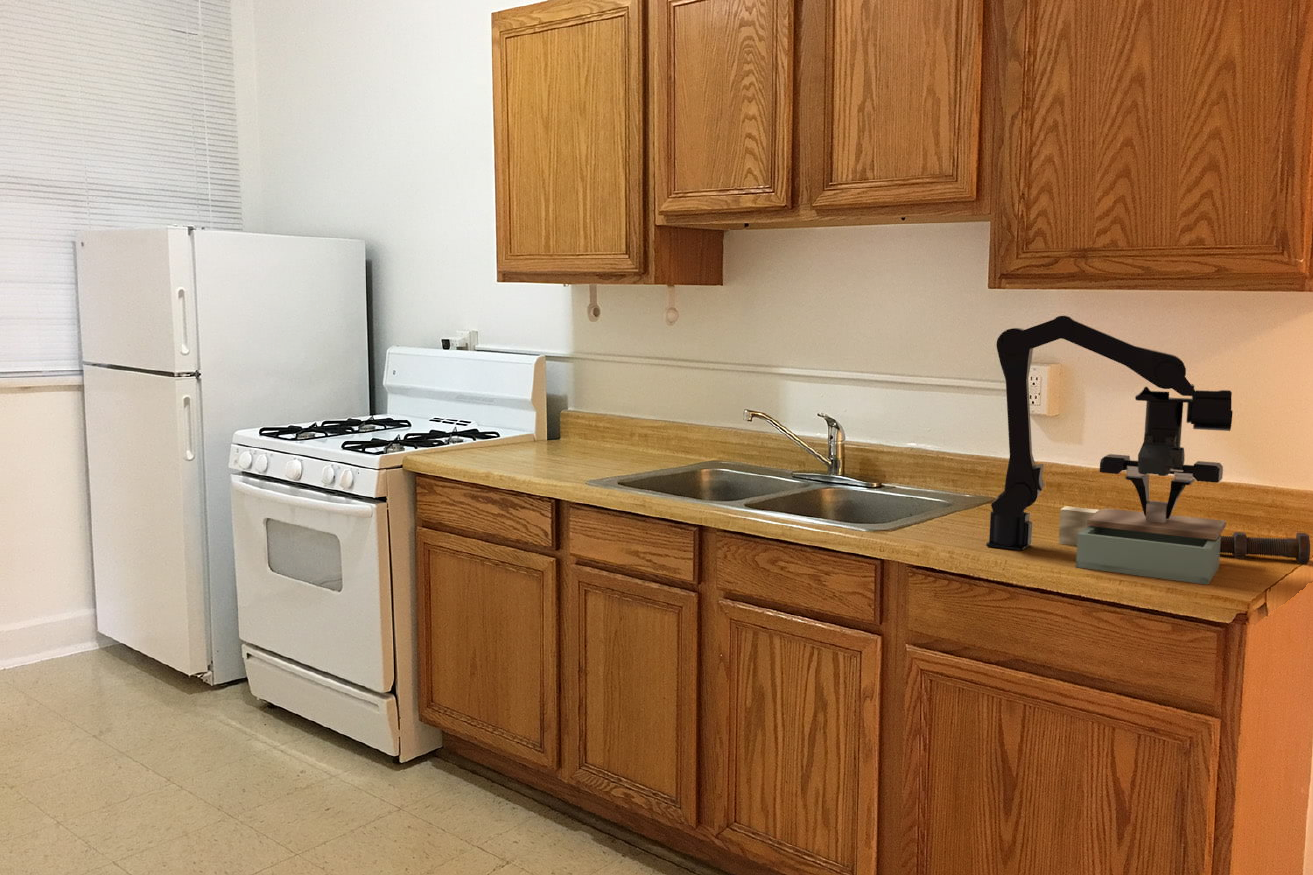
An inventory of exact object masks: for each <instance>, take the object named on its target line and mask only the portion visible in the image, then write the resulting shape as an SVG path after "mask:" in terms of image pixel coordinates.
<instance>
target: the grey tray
mask: <svg viewBox="0 0 1313 875" xmlns="http://www.w3.org/2000/svg"><path fill="white" fill-rule="evenodd" d="M1221 536H1222V534H1220V535H1219V537H1218V538H1217V539H1216V540H1210V539H1201V538H1193V537H1184V536H1175V535H1166V534H1157V533H1148V532H1139V531H1130V530H1122V529H1113V528H1104V527H1095V526H1088V527H1087V528H1085V529H1084V530H1082V531H1081V532H1080V533H1078V539H1077V546H1076V556H1075V557H1076V558H1075V559H1076V560H1075V568H1079V569H1087V570H1096V571H1102V572H1109V573H1110V572H1111V573H1117V574H1119V573H1120V574H1125V575H1131V576H1132V575H1133V576H1140V577H1146V578H1154V579H1155V578H1156V579H1163V580H1170V581H1177V582H1186V583H1190V584H1191V583H1192V584H1199V585H1210V582H1211V581H1212V579H1214V578H1213V577H1214V576H1215V575H1216V573H1217V571H1218V570H1219V566H1220V554H1221V553H1220V542H1221Z"/></svg>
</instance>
